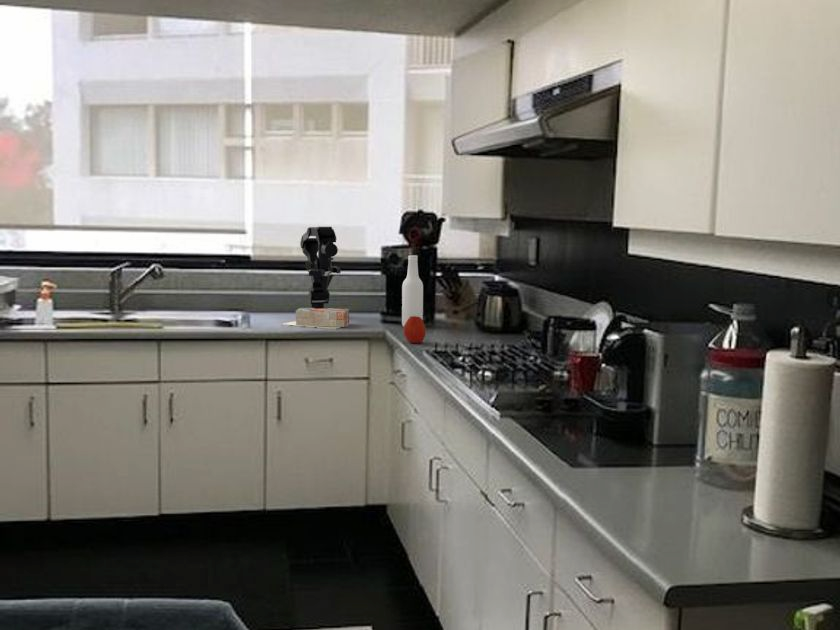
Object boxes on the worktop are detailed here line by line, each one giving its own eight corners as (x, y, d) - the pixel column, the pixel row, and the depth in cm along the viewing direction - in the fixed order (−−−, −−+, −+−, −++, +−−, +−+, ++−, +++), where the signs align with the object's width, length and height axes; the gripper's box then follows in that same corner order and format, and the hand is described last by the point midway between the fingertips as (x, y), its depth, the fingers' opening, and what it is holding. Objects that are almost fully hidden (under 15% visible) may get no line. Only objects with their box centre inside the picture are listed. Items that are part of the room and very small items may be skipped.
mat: (295, 321, 396) (295, 320, 396) (348, 325, 386) (348, 324, 386) (281, 325, 385) (281, 324, 385) (335, 329, 375) (335, 328, 375)
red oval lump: (400, 343, 340) (400, 315, 339) (408, 340, 348) (408, 312, 347) (420, 345, 338) (421, 316, 336) (428, 341, 345) (429, 313, 344)
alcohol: (397, 326, 385) (398, 255, 381) (410, 324, 391) (411, 254, 388) (414, 328, 379) (414, 256, 375) (426, 326, 386) (427, 255, 382)
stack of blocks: (300, 321, 393) (293, 325, 380) (300, 307, 392) (293, 311, 380) (349, 323, 390) (344, 327, 378) (349, 308, 390) (344, 312, 378)
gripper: (319, 253, 410) (319, 288, 411) (297, 255, 392) (298, 292, 394) (341, 254, 405) (341, 289, 407) (320, 256, 388) (320, 293, 390)
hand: (324, 290), depth 400 cm, fingers closed
